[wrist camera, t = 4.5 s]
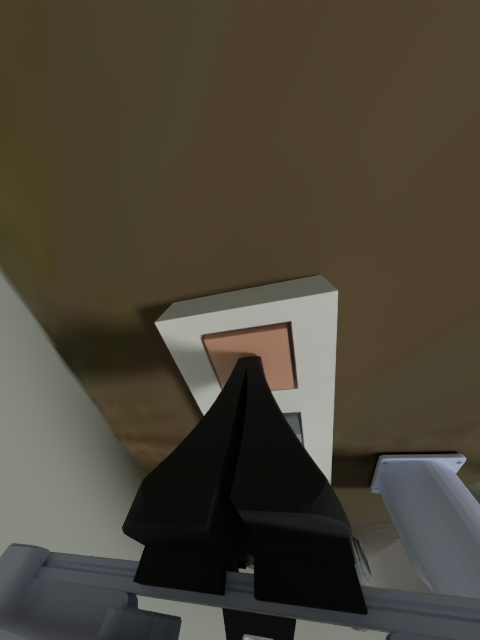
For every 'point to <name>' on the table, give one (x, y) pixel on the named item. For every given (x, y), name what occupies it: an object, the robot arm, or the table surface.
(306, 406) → the keypad
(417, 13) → the table surface
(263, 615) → the device stand
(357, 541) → the camera
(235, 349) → the terracotta key
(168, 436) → the table surface
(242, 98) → the table surface
